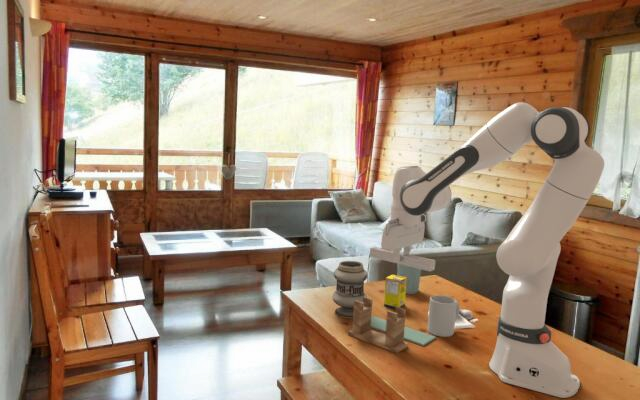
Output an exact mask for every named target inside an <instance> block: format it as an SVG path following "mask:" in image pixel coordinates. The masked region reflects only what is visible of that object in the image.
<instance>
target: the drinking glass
mask: <svg viewBox="0 0 640 400" xmlns="http://www.w3.org/2000/svg"><path fill="white" fill-rule="evenodd" d="M396 265H397V273H396V274H397V275H398V276H402V277H407V280H406V294H408V295H414V294H418V293H419V290H420V289H419V288H420V282H421V275H422V271H423V270H422V269H418V268H414V267H409V266H405V265H401V264H397V263H396Z"/></svg>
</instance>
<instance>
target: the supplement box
mask: <svg viewBox="0 0 640 400" xmlns="http://www.w3.org/2000/svg"><path fill="white" fill-rule="evenodd" d="M406 280H407V277H402V276H398V275H396V274H391V275H389V276H387V277H385V284H384V285H385V286H384V300H383V302H384V305H383V306H384V307H388V308H391V309H396V307H400V308H403V307H405V305H406Z"/></svg>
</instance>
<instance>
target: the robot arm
mask: <svg viewBox="0 0 640 400" xmlns="http://www.w3.org/2000/svg"><path fill="white" fill-rule="evenodd" d="M590 132H591V125H590V123H589V119H588V118H587V117H586V116H585V115H584V114H582V113H581V112H579V111H578V110H575V109H573V108H571V107H564V106H553V107H548V108H546V109H544V110H542V111H541V112H540V111H538V110H537V109H536V108H535V107H534V106H532V105H531V104H529V103H527V102H523V101H521V102H515V103H513V104H511V105H510V106H508V107H506V108H505V109H504V110H502V111H501V112H499V113H498V114H496V115H495V116H493V117H492V118H491V119H489V121H488V122H486V123H485V124H484V125H483V126H481V128H480V129H478V130H477V131H476V132H475V133H474V134H473V135H472V136H470V137H469V139H468V140H466V142H464V143H463V144H462V145H461V146H460V147H459V148H458V149H456V151H454V152H453V153H451V154H450V155H449V156H447V157H446V158H445V159H444V160H442V161H441V162H440V163H439V164H437V165H436V166H435V167H433V168H432V169H431V170H430V171H428V172H426V171H424V170H423V169H422V167H420V166H418V165H410V166H401V167H399V168H396V170H395V173H394V176H393V180H392V181H393V182H392V191H391V195H392V203H391V205H390V219H389V220H388V221H387V223H386V224H385V226H384V227H383V230H382V235H381V242H380V243H381V244H380V248H382V249H383V250H387V251H393V253H394V261H395V262H400V261H401V260H402V256H400V252H401V250H402V249H403V252H402V253H406V254H410V253H411V251H412V248H413V247H412V246H414V245H417V244H421V243H422V242H423V240H424V236H425V226H426V225H425V222H426V221H427V215H426V214H427V213H432V212H436V211H440V210H442V209H445V208H446V207H448V205H449V204H450V203H451V200H452V189H451V187H450V186H451V184H453V183H454V182H456V181H457V180H459V179H460V178H462V177H464V176H466V175H468V174H471V173H473V172H478V171H481V170H485V169H491V168H493V167H495V166H498V165H499V164H501V163H503V162H504V161H507V160H508V159H510V158H511V157H513V155H515V154H516V153H518V151H520V150H521V149H522V148H524V146H526V145H528V144H529V143H532V142H534V143H535V144H536V145H537V147H538V148H539V149H541V150H542V151H543V152H545V154H546V155H547V156H549V157H550V158H551V159H552V160H554V162H553V165H552V168H551V170H550V171H549V173H548V174H547V176H546V178H545V180H544V182H542V185H541V187H540V189H539V190H538V192H537V194H536V196H535V197H534V199H533V201H532V203H531V204H530V206H529V207H528V209H527V210H526V211H525V213H524V214H523V215H522V216H521V218H519V220H518V221H517V223H516V224H515V225H514V227H512V230H510V232H509V234H508V235H507V237H506V238H505V239H504V241H502V243H501V244H500V245H499V246H498V248H497V250H496V257H495V258H496V263H497V265H498V267H499V269H501V270H502V271H503V272H504V273H505V274H507V275H508V280H507V282H506V284H505V286H504V288H503V291H502V299H501V300H502V301H501V310H500V316H499V317H498V321H497V328H496V336H497V339H496V342H495V343H496V344H495V348H494V349H493V350H494V351H493V354H492V356H491V359H490V361H489V365H488V366H489V368H490V370H492V372H494V373H495V374H496V375H497V376H498V378H499V379H500V381H501V382H503V383H506V384H509V385H514V386H517V387H520V388H525V389H528V390H531V391H535V392H539V393H543V394H546V395H549V396H554V397H557V398H560V399H565V398H566V399H567V398H570V397H573V396H574V395H575V394H577V392H578V391H579V390H580V386H581V385H580V382H581V381H580V379H579V378H578V376H577V375H575V374H574V373H573V374H572V367H571V361H570V359H569V358H568V357H569V356H567V355H566V354H565V353H563V351H562V350H561V349H560V348H559V347H558V346H557V345H555V344H554V343H553V342H552V340H551V339H552V334H553V328H550V329H549V328H548V327H547V326H546V324H545V321H546V313H547V304H548V297H549V294H550V289H551V287H552V284H553V278H554V276H555V271H556V267H557V263H558V259H559V257H560V254H561V250H562V248H561V243H560V242H561V241H562V239H563V238H564V237H565V235H566V234H567V233H568V232H569V231H570V230H571V229H572V227H573V226H574V224H575V223H576V221H577V220H578V218H579V216H580V215H581V213H582V212H583V210H584V208H585V207H586V205H587V203H588V202H589V200H591V197H592V196H593V193H594V191H595V189H596V188H597V186H598V185H599V181H600V179H601V177H602V173H603V172H604V171H603V170H604V169H605V159H604V157H603V156H602V155H601V153H599V152H598V151H597V150H595V149H594V148H591V147H589V146H588V145H587V144H586V141H587V140H588V138H589V135H590ZM578 389H579V390H578Z"/></svg>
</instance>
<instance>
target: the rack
mask: <svg viewBox="0 0 640 400" xmlns="http://www.w3.org/2000/svg"><path fill="white" fill-rule="evenodd" d="M372 310H373V299H372V298H370V297H363V302H360V301H357V300H355V301H354V313H353V318H352V329H350V330H348V331H347V335H348V336H350V337H353V338H356V339H359V340H362V341H364V342H366V343H369V344H372V345H374V346H376V347H379V348H382V349H385V350H387V351H390V352H393V353H396V354H398V353H400V352H402V351H404V350H405V349H407V348H408V347H409V343H408V342H405V341H404V328H405V327H406V325H405V324H406V313H407V309H406V308H403V307H401V308H400V307H396V308H395V312H394V311H391V310H387V311H386V320H387V321H386V333H384V334H383V333H381V332H378V331H375V330H372V328H371V316H372V315H373V313H372V312H373V311H372Z"/></svg>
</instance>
